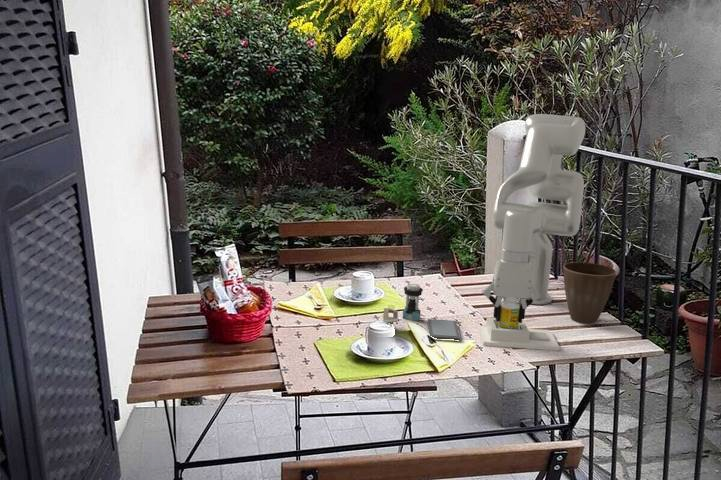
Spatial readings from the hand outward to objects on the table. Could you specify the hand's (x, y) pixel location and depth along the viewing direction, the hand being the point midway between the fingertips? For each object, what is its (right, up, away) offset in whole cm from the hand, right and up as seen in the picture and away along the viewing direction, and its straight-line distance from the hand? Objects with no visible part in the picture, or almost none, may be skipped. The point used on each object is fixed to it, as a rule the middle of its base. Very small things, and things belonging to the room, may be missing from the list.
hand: (508, 319), depth 199 cm
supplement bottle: (0, -3, +1) cm, 3 cm away
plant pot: (+26, -2, +21) cm, 34 cm away
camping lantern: (-25, -1, +13) cm, 28 cm away
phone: (-17, -4, +3) cm, 18 cm away
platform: (-32, -4, +2) cm, 32 cm away
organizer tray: (+3, -5, +1) cm, 6 cm away
